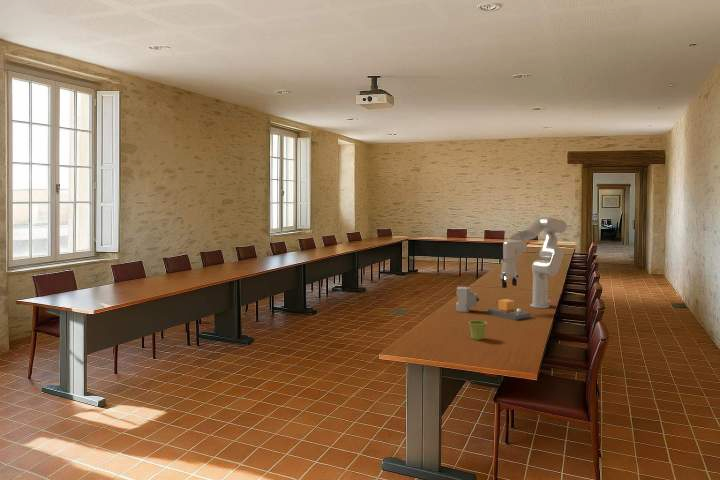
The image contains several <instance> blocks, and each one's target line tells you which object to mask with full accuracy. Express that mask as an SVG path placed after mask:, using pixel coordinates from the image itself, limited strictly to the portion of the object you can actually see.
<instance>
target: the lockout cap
mask: <svg viewBox="0 0 720 480" xmlns="http://www.w3.org/2000/svg"><path fill="white" fill-rule="evenodd" d="M515 302H516V301H515V300H512V299H508V298H505V299H503V298H502V299H498V302H497V303H498V306H497V307H498V309H502V310H506V311H507V310H514V309H515V304H516V303H515Z"/></svg>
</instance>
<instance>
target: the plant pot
mask: <svg viewBox="0 0 720 480" xmlns="http://www.w3.org/2000/svg"><path fill="white" fill-rule="evenodd" d="M468 324H469V327H470V333H471V335H470V336H471V339H473V340H474V341H475V340H476V341H479V340H484V337H485V332H486V330H485V329H486V328H487V327H486V326H487V324H488V322H487V321H483V320H469V321H468Z"/></svg>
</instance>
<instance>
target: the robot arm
mask: <svg viewBox="0 0 720 480" xmlns="http://www.w3.org/2000/svg"><path fill="white" fill-rule="evenodd" d="M567 229H568V225H567V222H566V221H565V220H563V219H558V218H554V217H547V216H538V217H537V218H536V219H534V220H533V221H532V222H531V223H530V224H529V225H528V226H527V227H526V228H524V229H521V230H519V231H517V232H515V233H513V234H511V236H510V237H509V238H508V239H507V240H506V241H503V243H502V244H503V245H502V249H503V250H502V252H503V253H502V255H503V257H502V258H503V259H502V263H501V264H502V265H501V273H500V274H499V278H500V281H501V288H504V289H507V288H508V287H507V280H508V279H511V286H514V287H517V286H518V285H517V283H518V281H517V280H518V277H519V274H520V272H519V271H517V264H516V263H517V262H516V253H523V252H525V251H526V250H527V247H528V244H527V242H526V241H531V240H534V239H536V238H537V237H538V236H539V235H540V234H541V233H542V232H543V233H544V241H543V243H542V245H541V247H540V251H539V257H540V258H541V259H536V260H534V261H533V262H532V264H531V270H532V302H531V303H530V304H529V306H530V307H532V308H536V309H548V308H550V304H549V303H551V302H552V300H551V299H548V291H549V290H548V285H549V283H548V282H549V280H548V277H547V276H551V277H553V276H556V274H557V273H558V271H559V269H560V267H561V264H562V261H563V259H564V253H565V252H564V250H563V248H561V247H560V246H557V245H558V242H559V241H558V236H557V234H563V233H565V232H566V231H567Z"/></svg>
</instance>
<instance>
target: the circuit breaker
mask: <svg viewBox="0 0 720 480" xmlns="http://www.w3.org/2000/svg"><path fill="white" fill-rule="evenodd" d="M455 295H456V296H457V302H455V303H456V304H455V312H459V313H462V312H463V313H469V312H470V307H471V308H472V307H473V308H474V307H475V308H476V307H477V302H478V301H479V302H480V297H479V298H478V296H477V292H470V286H457V287H456V294H455Z"/></svg>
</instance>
